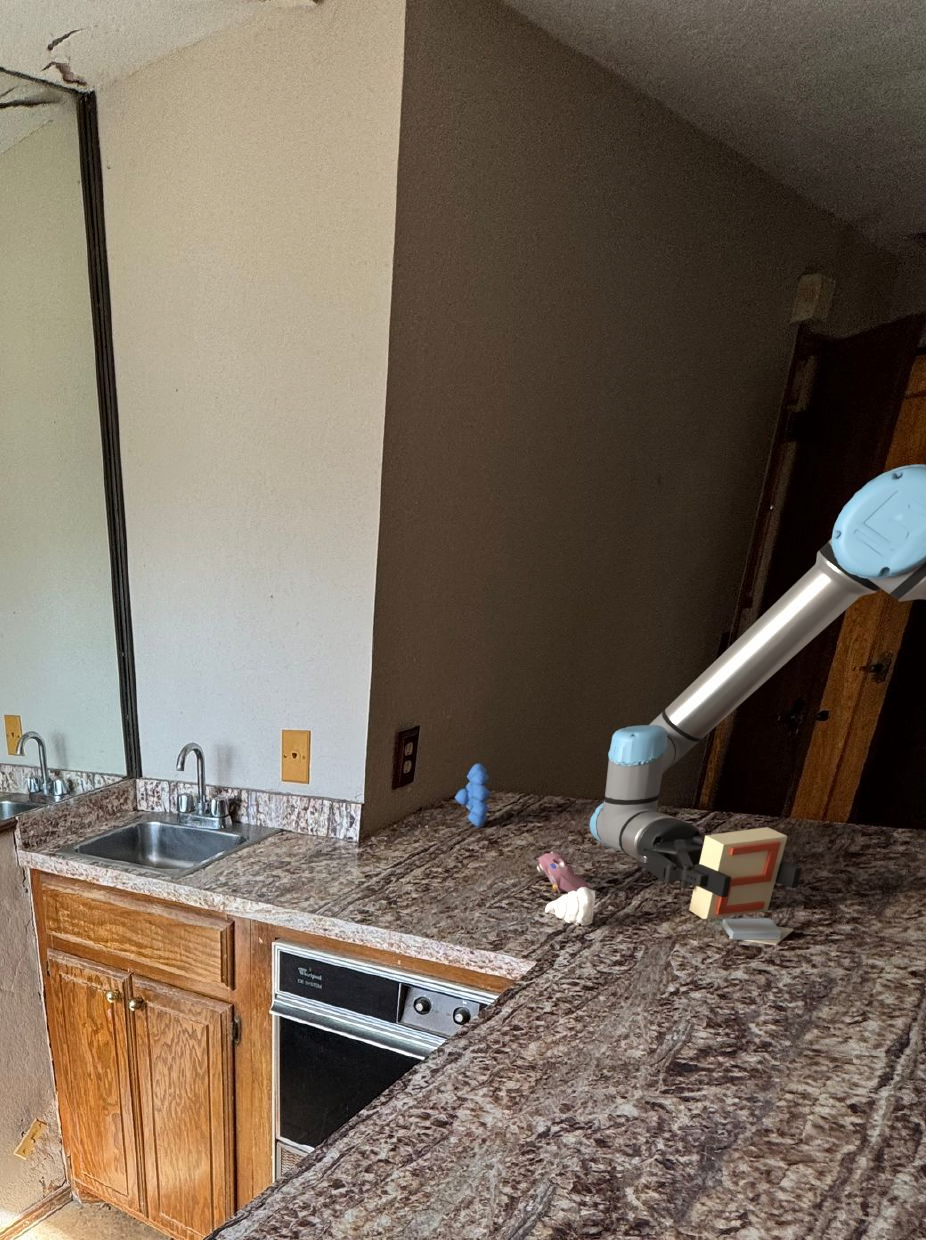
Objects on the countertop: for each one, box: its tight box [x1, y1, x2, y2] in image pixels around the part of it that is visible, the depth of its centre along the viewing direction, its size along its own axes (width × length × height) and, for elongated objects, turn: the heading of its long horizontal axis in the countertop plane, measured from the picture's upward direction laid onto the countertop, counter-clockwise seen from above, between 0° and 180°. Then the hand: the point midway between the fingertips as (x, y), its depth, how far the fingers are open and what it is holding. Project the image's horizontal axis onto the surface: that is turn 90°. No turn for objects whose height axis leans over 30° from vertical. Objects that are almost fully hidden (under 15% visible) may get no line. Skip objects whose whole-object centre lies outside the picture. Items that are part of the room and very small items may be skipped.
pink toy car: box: [536, 851, 591, 894], centre depth 140 cm, size 10×5×7 cm, turn 168°
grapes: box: [454, 762, 491, 828], centre depth 178 cm, size 12×7×12 cm, turn 166°
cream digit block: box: [688, 826, 788, 920], centre depth 120 cm, size 8×4×11 cm, turn 89°
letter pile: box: [721, 917, 795, 946], centre depth 111 cm, size 12×10×3 cm
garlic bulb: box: [544, 887, 596, 927], centre depth 127 cm, size 6×6×5 cm
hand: (761, 882), depth 115 cm, fingers closed on cream digit block, 8 cm apart
